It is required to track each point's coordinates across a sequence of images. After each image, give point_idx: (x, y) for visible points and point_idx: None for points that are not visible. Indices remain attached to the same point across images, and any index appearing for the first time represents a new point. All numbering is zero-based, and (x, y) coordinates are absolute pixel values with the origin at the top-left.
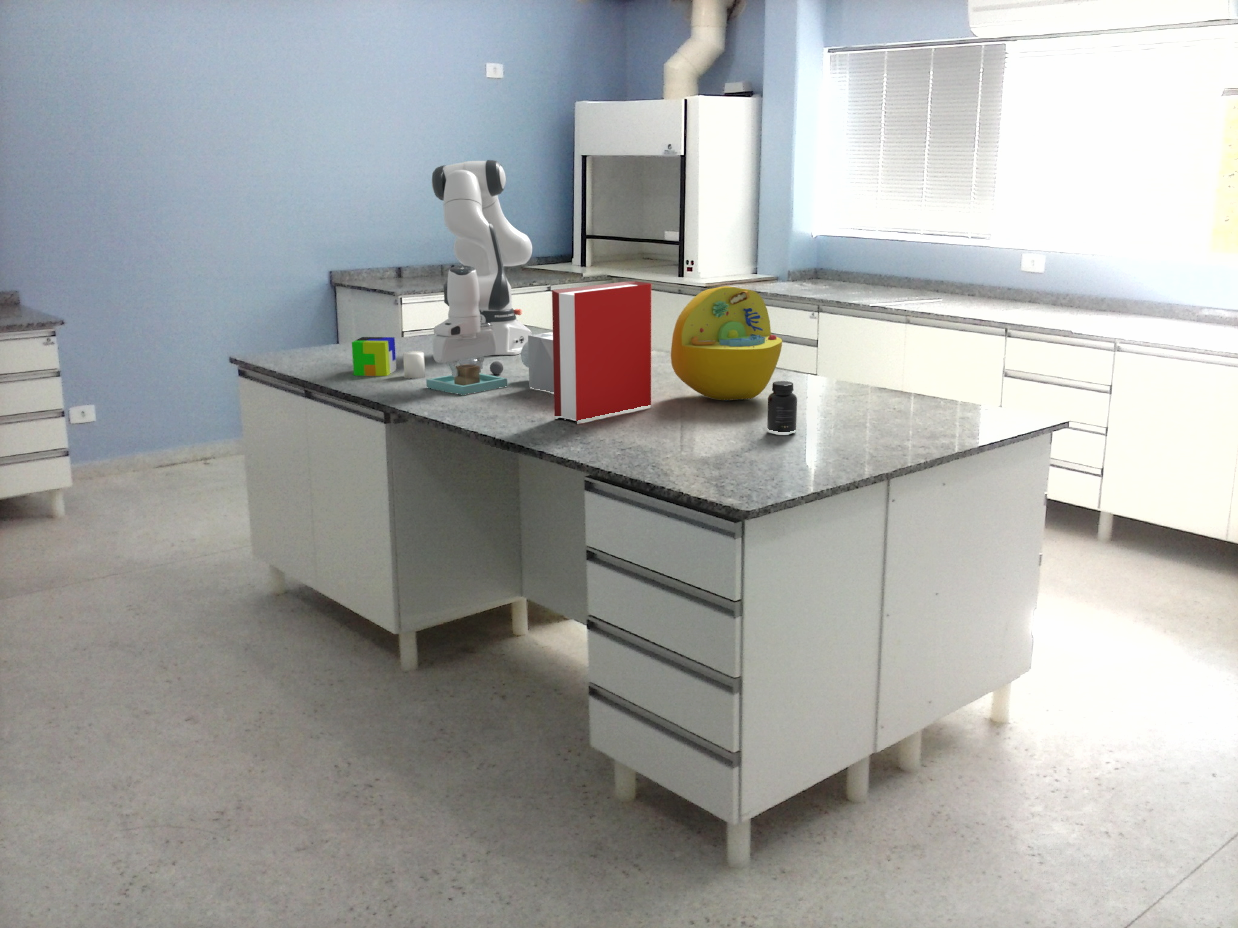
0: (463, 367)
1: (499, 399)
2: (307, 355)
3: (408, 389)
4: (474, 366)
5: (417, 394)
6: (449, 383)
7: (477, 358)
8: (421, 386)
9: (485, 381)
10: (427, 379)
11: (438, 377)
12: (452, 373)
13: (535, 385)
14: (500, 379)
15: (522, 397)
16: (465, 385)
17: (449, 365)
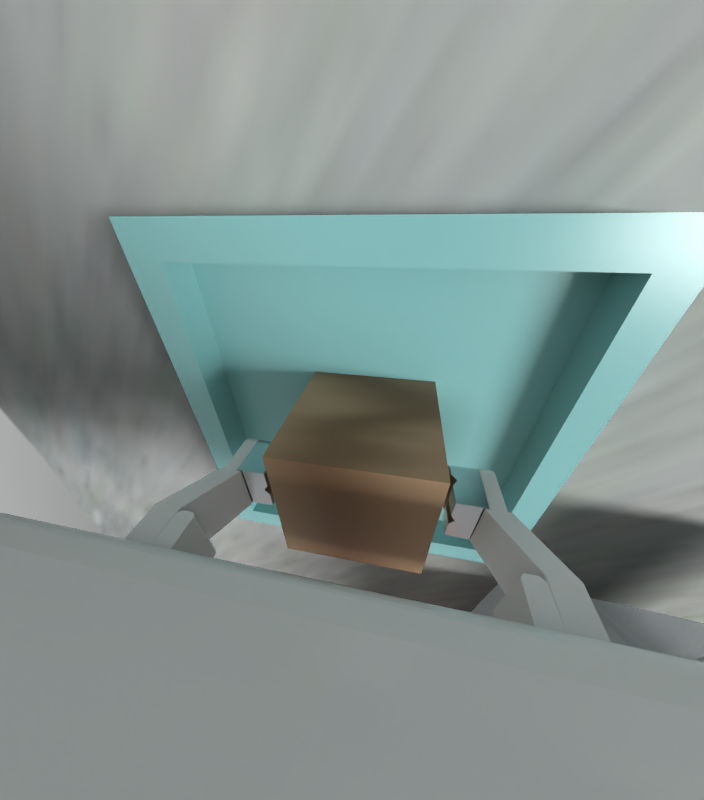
0: (300, 529)
1: (316, 566)
2: None
3: (28, 143)
4: (386, 561)
5: (88, 337)
6: (218, 446)
7: (513, 613)
8: (142, 106)
9: (489, 459)
10: (117, 229)
11: (233, 231)
12: (239, 455)
13: (493, 612)
14: (464, 557)
15: (376, 591)
16: (262, 513)
17: (169, 510)
